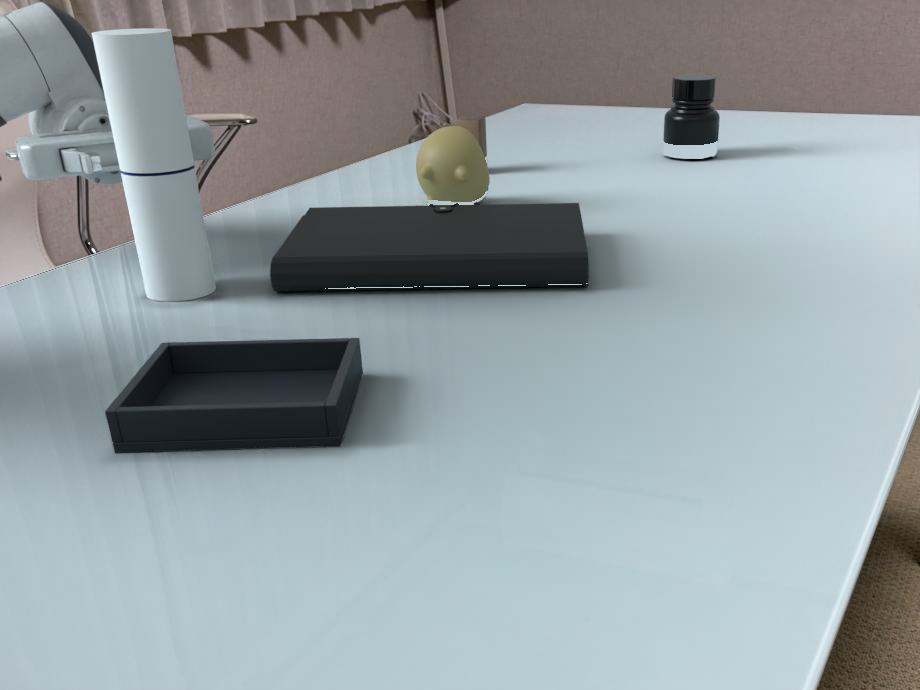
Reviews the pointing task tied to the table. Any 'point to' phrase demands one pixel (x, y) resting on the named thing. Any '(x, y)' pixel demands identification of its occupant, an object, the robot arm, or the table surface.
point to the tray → (239, 396)
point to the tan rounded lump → (452, 166)
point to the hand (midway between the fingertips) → (140, 158)
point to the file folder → (433, 248)
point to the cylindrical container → (156, 161)
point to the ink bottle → (692, 112)
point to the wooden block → (475, 129)
